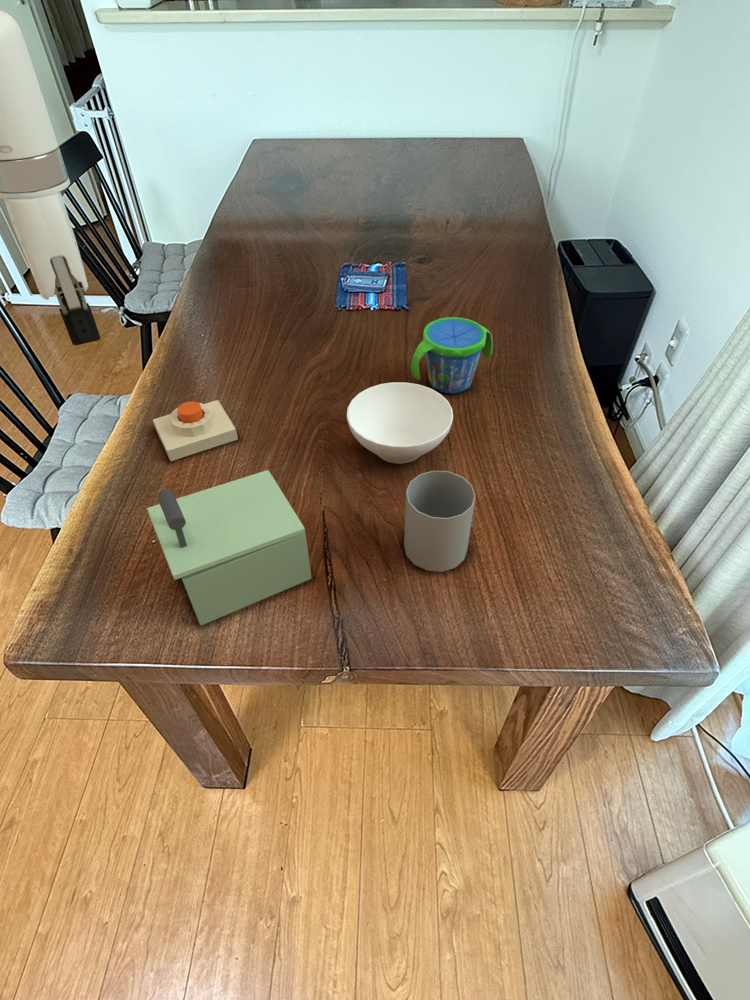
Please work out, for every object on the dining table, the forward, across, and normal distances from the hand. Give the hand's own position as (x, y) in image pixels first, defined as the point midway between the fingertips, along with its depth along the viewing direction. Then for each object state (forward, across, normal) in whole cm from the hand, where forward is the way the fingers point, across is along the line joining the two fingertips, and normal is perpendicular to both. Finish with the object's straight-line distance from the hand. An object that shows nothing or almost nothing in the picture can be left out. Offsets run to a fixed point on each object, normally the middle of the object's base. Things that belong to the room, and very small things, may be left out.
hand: (86, 339), depth 71 cm
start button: (+20, -8, +11) cm, 25 cm away
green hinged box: (+24, +22, +8) cm, 34 cm away
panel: (+24, -8, +11) cm, 28 cm away
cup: (+24, +31, +32) cm, 51 cm away
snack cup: (+23, 0, +55) cm, 60 cm away
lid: (+15, +22, +7) cm, 28 cm away
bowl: (+24, +11, +38) cm, 46 cm away
